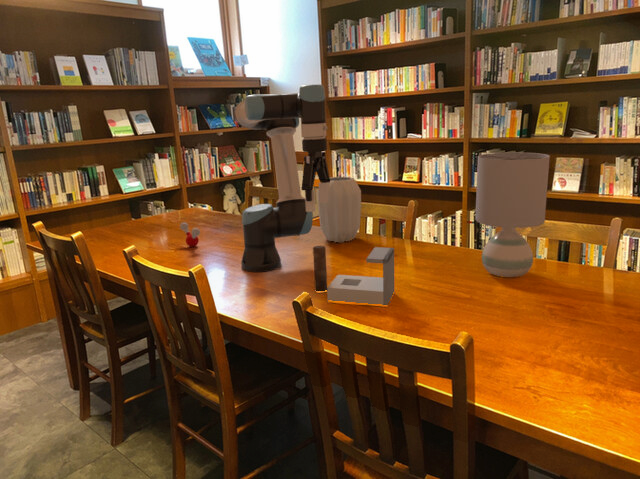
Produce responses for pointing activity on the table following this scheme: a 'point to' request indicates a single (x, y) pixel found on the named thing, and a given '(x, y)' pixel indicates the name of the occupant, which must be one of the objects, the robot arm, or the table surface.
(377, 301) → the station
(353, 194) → the vase
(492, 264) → the lamp
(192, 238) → the molecular model
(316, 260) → the dowel
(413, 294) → the table surface
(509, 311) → the table surface
